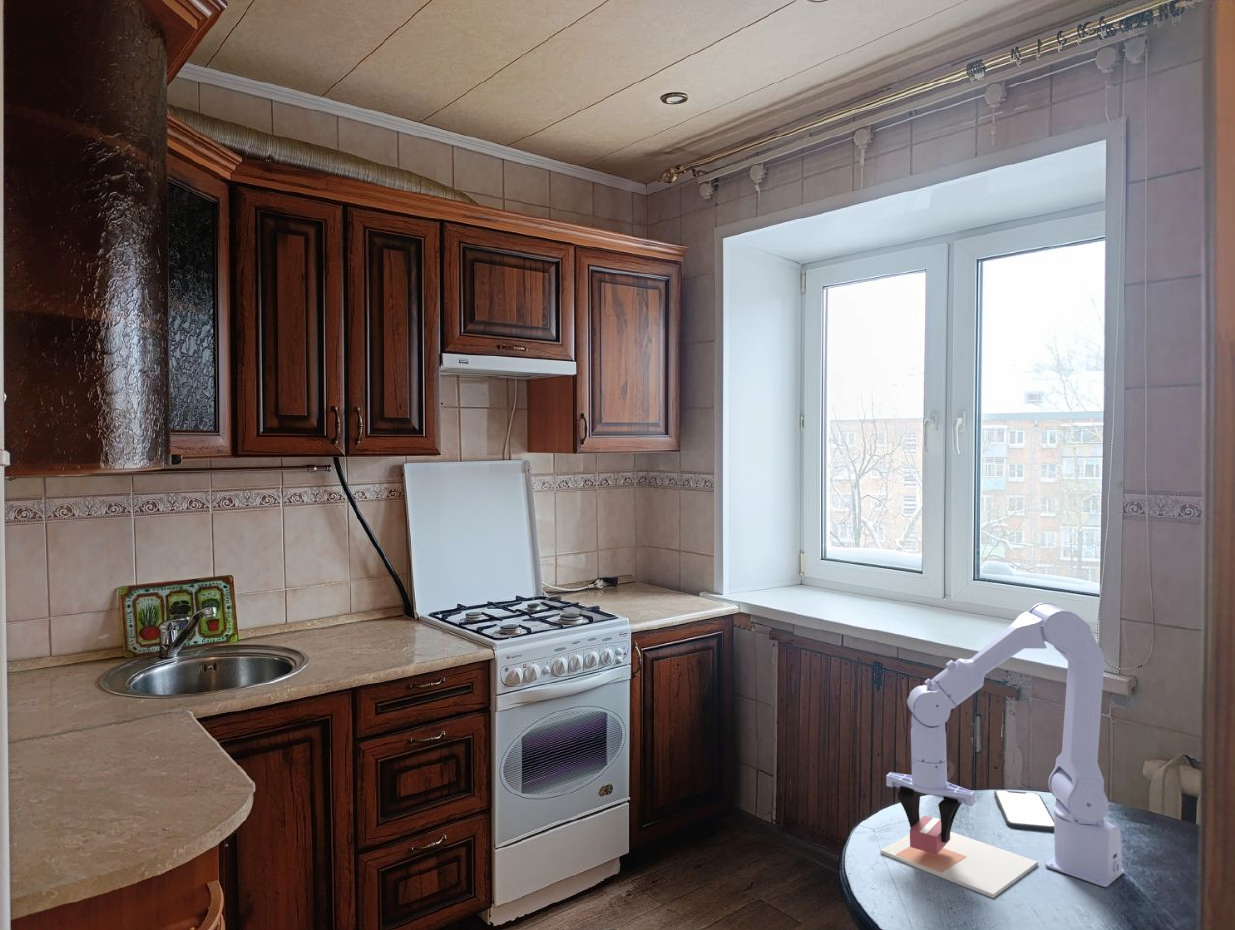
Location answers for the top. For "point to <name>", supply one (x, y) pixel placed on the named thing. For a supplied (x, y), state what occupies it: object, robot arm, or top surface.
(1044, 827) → the smartphone
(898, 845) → the mat
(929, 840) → the card box
